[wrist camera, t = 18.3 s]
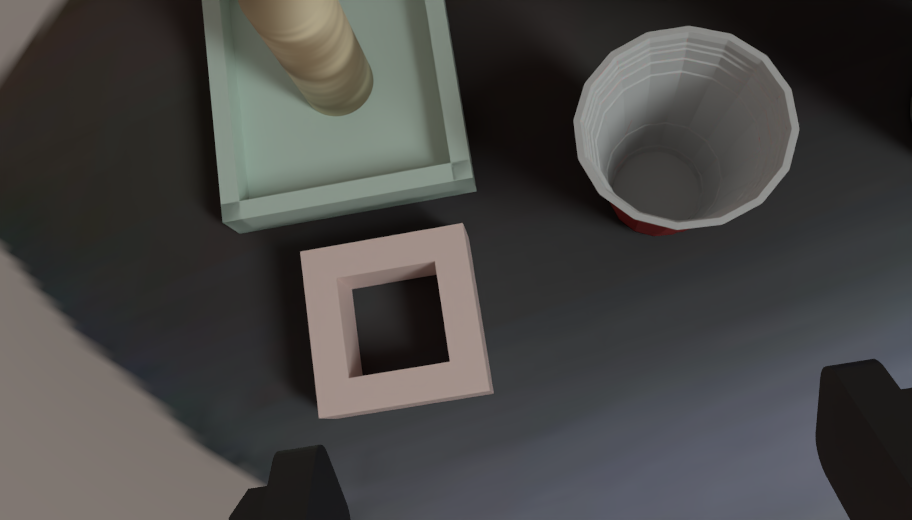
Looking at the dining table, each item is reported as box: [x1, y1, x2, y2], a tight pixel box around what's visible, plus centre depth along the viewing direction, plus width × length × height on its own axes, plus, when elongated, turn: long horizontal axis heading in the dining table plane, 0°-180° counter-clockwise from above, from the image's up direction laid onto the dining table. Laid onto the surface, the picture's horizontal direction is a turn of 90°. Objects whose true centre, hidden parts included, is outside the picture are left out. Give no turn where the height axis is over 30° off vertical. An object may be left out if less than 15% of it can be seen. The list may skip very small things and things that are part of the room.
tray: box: [202, 0, 477, 234], centre depth 53 cm, size 16×18×3 cm
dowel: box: [238, 0, 373, 116], centre depth 48 cm, size 5×5×12 cm
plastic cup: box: [573, 26, 799, 236], centre depth 45 cm, size 11×11×12 cm
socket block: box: [300, 223, 494, 419], centre depth 49 cm, size 10×10×4 cm
